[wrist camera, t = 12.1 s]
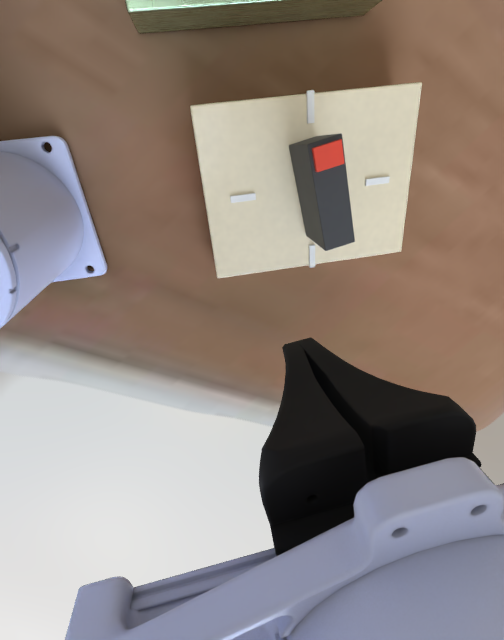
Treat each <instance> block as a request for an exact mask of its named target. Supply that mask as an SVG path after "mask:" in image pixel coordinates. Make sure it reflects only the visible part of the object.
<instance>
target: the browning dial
mask: <svg viewBox="0 0 504 640" xmlns="http://www.w3.org/2000/svg"><path fill="white" fill-rule="evenodd" d="M289 151H290V156H291V161H292V166H293V171H294V176H295V181H296V186H297V191H298V197H299V202H300V207H301V212H302V217H303V222H304V227H305V232H306V236H307V237H308V238H310V239H311V240H312V241H313V242H315V243H316V244H317V245H318V246H320V247H321V248H322V249H324V250H325V251H328V250H331V249H334V248H337V247H340V246H344V245H347V244H350V243H353V242H355V238H354V229H353V221H352V213H351V205H350V196H349V188H348V180H347V172H346V163H345V155H344V147H343V138H342V134H341V133H340V134H331V135H322V136H315V137H312V138H309V139H306V140H303V141H300V142H297V143H293V144H290V145H289Z"/></svg>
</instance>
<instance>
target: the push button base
mask: <svg viewBox="0 0 504 640" xmlns="http://www.w3.org/2000/svg"><path fill="white" fill-rule="evenodd" d="M381 1H382V0H125V3H126V8H127V11H128V13H129V15H130V17H131V19H132V21H133V23H134V25H135V27H136V29H137V31H138V33H152V32H165V31H177V30H189V29H202V28H214V27H226V26H239V25H251V24H263V23H276V22H288V21H300V20H313V19H325V18H337V17H350V16H362V15H365V14H366V13H367V12H368V11H370V10H371V9H372V8H373V7H374V6H376V5H377V4H378V3H379V2H381Z"/></svg>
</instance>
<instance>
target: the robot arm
mask: <svg viewBox="0 0 504 640" xmlns="http://www.w3.org/2000/svg"><path fill="white" fill-rule="evenodd" d="M46 142H48V143H50V145H51V146H52V151H51V152H48V151H46V149H45V148H44V144H45V143H46ZM87 266H92V267H93V268H94V271H90V270H88V268H87ZM106 271H107V264H106V261H105V258H104V254H103V251H102V248H101V245H100V242H99V239H98V236H97V233H96V230H95V227H94V224H93V221H92V218H91V215H90V212H89V208H88V205H87V202H86V199H85V196H84V193H83V190H82V187H81V184H80V181H79V178H78V175H77V172H76V169H75V166H74V162H73V159H72V156H71V153H70V150H69V147H68V145H67V143H66V141H65V140H64V139H63V138H61V137H59V136H45V137H35V138H26V139H16V140H7V141H0V328H1V327H2V326H4V325H5V324H6V323H7V322H8V321H9V320H10V319H11V318H12V317H14V316H15V315H16V314H17V313H18V312H19V311H20V310H21V309H22V308H23V307H25V306H26V305H27V304H28V303H29V302H30V301H31V300H32V299H33V298H34V297H36V296H37V295H38V294H39V293H40V292H41V291H42V290H43V289H44V288H45V287H47V286H48V285H49V284H50V283H51V282H57V281H64V280H71V279H78V278H86V277H93V276H100V275H103V274H104V273H105V272H106ZM282 348H283V352H284V357H285V362H286V375H285V385H284V391H283V397H282V401H281V405H280V408H279V412H278V415H277V418H276V420H275V423H274V425H273V428H272V430H271V432H270V435H269V437H268V438H267V440H266V442H265V444H264V446H263V448H262V453H261V460H260V469H259V486H260V492H261V497H262V502H263V505H264V508H265V511H266V514H267V517H268V520H269V523H270V526H271V532H272V537H273V542H274V548H273V549H269V550H265V551H262V552H259V553H255V554H251V555H248V556H244V557H240V558H237V559H234V560H230V561H226V562H223V563H219V564H216V565H212V566H208V567H205V568H201V569H198V570H194V571H191V572H187V573H184V574H181V575H177V576H173V577H170V578H166V579H162V580H159V581H155V582H152V583H148V584H145V585H141V586H137V587H134V588H133V586H132V584H131V583H130V582H129V581H128V580H127V579H126V578H124V577H112V578H109V579H105V580H102V581H98V582H94V583H91V584H87V585H84V586H82V587H80V588H79V590H78V594H77V598H76V601H75V605H74V608H73V612H72V616H71V619H70V623H69V626H68V630H67V634H66V637H65V640H504V483H503V484H500V485H495V484H494V483H493V482H492V481H491V480H490V479H489V478H488V477H487V475H486V474H485V473H484V472H483V471H482V470H481V469H480V467H481V462H480V461H479V460H478V458H477V457H476V456H475V455H474V454H473V453H472V452H473V446H474V441H475V435H476V425H475V423H474V420H473V419H472V418H471V417H470V416H469V415H468V414H467V413H466V412H465V411H464V410H463V409H462V408H461V407H460V406H459V405H458V404H457V403H455V402H454V401H453V400H452V399H451V398H449V397H447V396H442V395H437V394H432V393H427V392H422V391H418V390H414V389H410V388H406V387H403V386H400V385H396V384H393V383H391V382H388V381H385V380H382V379H380V378H377V377H375V376H373V375H370V374H368V373H366V372H364V371H362V370H360V369H358V368H356V367H354V366H352V365H351V364H349V363H347V362H345V361H344V360H342V359H341V358H339V357H338V356H336V355H335V354H333V353H332V352H330V351H329V350H327V349H326V348H325V347H323V346H322V345H321V344H319V343H318V342H317V341H315V340H314V339H313V338H307V339H303V340H300V341H296V342H292V343H288V344H285V345H284V346H283V347H282Z"/></svg>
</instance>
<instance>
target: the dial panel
mask: <svg viewBox="0 0 504 640" xmlns="http://www.w3.org/2000/svg"><path fill="white" fill-rule="evenodd" d="M421 87H422V83H421V82H417V83H407V84H397V85H387V86H377V87H368V88H358V89H348V90H338V91H328V92H318V93H314V90H308V91H306V93H307V94H298V95H288V96H278V97H268V98H258V99H248V100H238V101H228V102H218V103H208V104H198V105H191V106H190V110H191V117H192V123H193V129H194V135H195V142H196V148H197V154H198V161H199V167H200V173H201V179H202V186H203V192H204V198H205V205H206V211H207V217H208V223H209V230H210V236H211V242H212V248H213V255H214V261H215V267H216V274H217V278H224V277H231V276H238V275H244V274H251V273H258V272H265V271H272V270H279V269H285V268H292V267H299V266H306V265H309V267H310V268H311V267H315V264H320V263H326V262H333V261H340V260H347V259H354V258H361V257H367V256H374V255H381V254H388V253H395V252H400V251H401V248H402V240H403V232H404V224H405V216H406V207H407V199H408V191H409V183H410V175H411V167H412V159H413V151H414V143H415V135H416V127H417V119H418V111H419V103H420V95H421ZM340 133H341V134H342V138H343V147H344V155H345V163H346V172H347V180H348V188H349V196H350V205H351V213H352V221H353V229H354V238H355V242H353V243H350V244H347V245H344V246H340V247H337V248H334V249H331V250H328V251H325V250H324V249H322V248H321V247H320V246H318V245H317V244H316V243H315V242H313V241H312V240H311V239H310V238H308V237H307V236H306V232H305V227H304V222H303V217H302V212H301V207H300V202H299V197H298V191H297V186H296V181H295V176H294V171H293V166H292V161H291V156H290V151H289V145H290V144H293V143H297V142H300V141H303V140H306V139H309V138H312V137H315V136H322V135H331V134H340Z"/></svg>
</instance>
